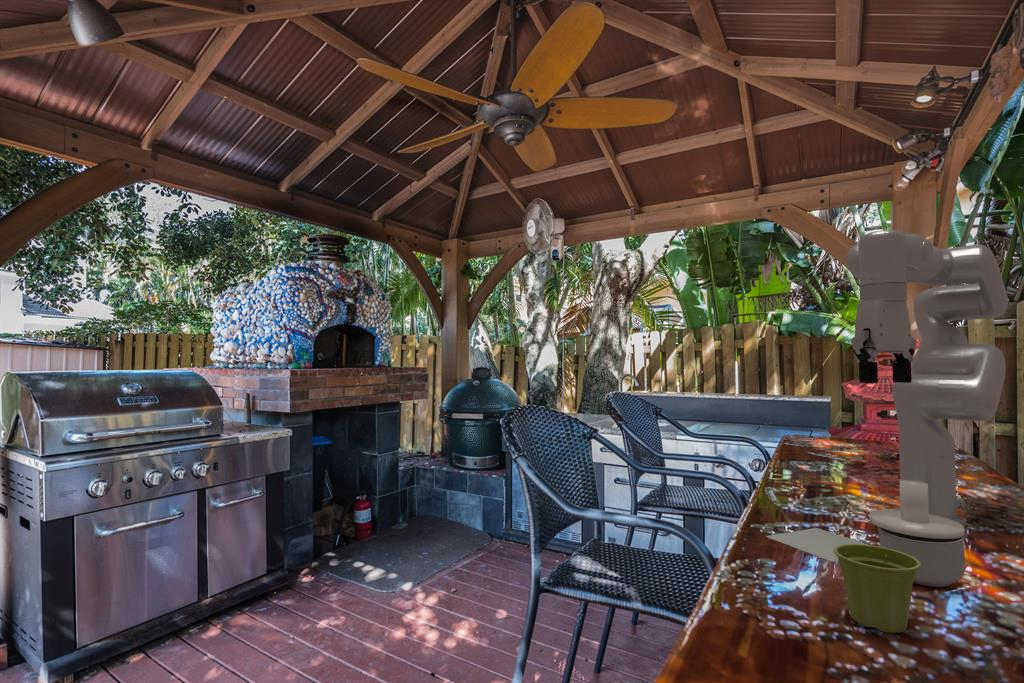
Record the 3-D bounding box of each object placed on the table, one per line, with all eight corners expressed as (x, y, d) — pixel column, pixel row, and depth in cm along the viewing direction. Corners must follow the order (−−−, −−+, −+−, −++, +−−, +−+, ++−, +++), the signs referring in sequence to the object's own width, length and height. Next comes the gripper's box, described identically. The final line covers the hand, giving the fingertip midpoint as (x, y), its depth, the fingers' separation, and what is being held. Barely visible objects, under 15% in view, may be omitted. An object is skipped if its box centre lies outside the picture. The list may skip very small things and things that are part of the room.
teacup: (984, 598, 75) (982, 542, 76) (900, 591, 78) (898, 537, 78) (927, 562, 89) (926, 515, 89) (857, 557, 91) (856, 511, 92)
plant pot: (819, 606, 73) (818, 544, 73) (882, 604, 74) (880, 542, 74) (871, 642, 63) (869, 570, 64) (942, 639, 64) (940, 567, 65)
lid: (899, 512, 91) (898, 472, 91) (982, 533, 80) (980, 487, 80) (852, 519, 87) (851, 477, 87) (933, 543, 76) (931, 494, 76)
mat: (816, 529, 106) (816, 527, 106) (887, 553, 93) (887, 550, 93) (765, 538, 101) (765, 536, 101) (832, 564, 88) (832, 561, 88)
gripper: (892, 299, 108) (894, 381, 107) (833, 295, 102) (836, 382, 101) (932, 294, 101) (935, 382, 100) (872, 290, 95) (875, 384, 94)
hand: (885, 382), depth 101 cm, fingers open, 9 cm apart
